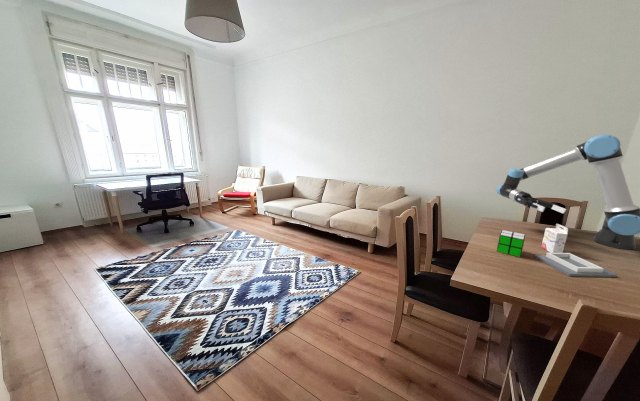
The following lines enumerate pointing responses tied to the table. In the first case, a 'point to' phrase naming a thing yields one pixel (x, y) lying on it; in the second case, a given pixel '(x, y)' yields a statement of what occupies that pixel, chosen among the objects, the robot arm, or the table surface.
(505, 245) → the puzzle cube
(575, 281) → the table surface
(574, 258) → the cartridge dock
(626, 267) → the table surface
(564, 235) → the ink cartridge box
